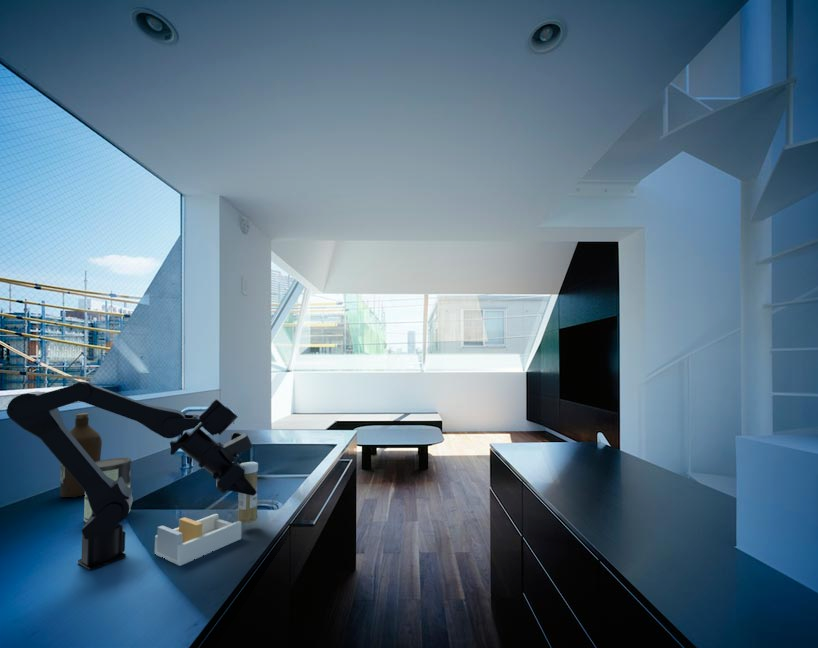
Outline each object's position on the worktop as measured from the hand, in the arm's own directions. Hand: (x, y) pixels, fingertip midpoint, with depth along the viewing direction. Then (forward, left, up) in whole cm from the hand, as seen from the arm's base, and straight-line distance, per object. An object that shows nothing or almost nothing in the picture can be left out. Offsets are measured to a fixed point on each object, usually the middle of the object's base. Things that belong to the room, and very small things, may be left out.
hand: (254, 491), depth 101 cm
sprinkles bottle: (-1, +1, -7) cm, 7 cm away
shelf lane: (-12, +3, -9) cm, 15 cm away
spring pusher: (-14, +3, -8) cm, 16 cm away
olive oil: (-10, +74, -9) cm, 75 cm away
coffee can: (-14, +43, -9) cm, 46 cm away
